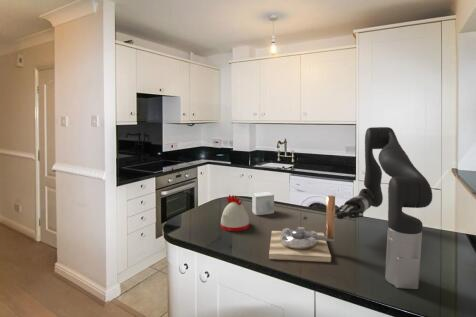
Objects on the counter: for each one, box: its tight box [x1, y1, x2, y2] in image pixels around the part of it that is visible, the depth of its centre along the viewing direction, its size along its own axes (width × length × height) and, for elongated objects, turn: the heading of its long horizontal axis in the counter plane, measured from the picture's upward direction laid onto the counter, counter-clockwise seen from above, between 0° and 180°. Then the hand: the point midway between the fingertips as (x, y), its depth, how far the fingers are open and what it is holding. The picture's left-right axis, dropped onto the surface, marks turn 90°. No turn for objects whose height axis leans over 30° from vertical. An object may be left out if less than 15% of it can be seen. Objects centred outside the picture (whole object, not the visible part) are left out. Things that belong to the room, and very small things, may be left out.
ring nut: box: [280, 195, 336, 250], centre depth 117 cm, size 20×14×20 cm
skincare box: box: [251, 191, 275, 216], centre depth 162 cm, size 10×6×10 cm, turn 106°
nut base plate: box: [268, 230, 332, 263], centre depth 120 cm, size 22×22×2 cm
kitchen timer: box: [220, 194, 251, 232], centre depth 144 cm, size 14×14×15 cm
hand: (338, 216), depth 119 cm, fingers closed
